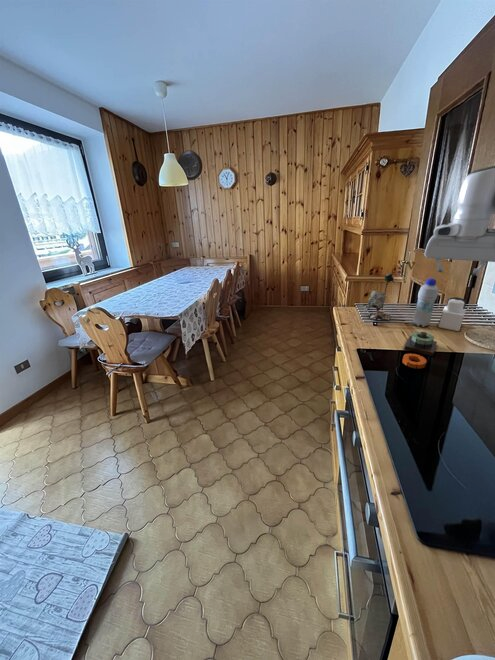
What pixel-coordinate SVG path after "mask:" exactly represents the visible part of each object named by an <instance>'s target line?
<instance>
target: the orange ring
mask: <svg viewBox="0 0 495 660" xmlns="http://www.w3.org/2000/svg"><path fill="white" fill-rule="evenodd" d="M401 362H402V364H403V365H405V367H408V368H412V369H417V370H418V369H419V370H420V369H424V368H425V367H426V365H427V362H428V361H427V359H426V358H425V357H424V356H423V355H421V354H418V353H417V354H416V353H405V354H404V355H403V357H402V360H401Z"/></svg>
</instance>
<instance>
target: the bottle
mask: <svg viewBox="0 0 495 660" xmlns="http://www.w3.org/2000/svg"><path fill="white" fill-rule="evenodd" d="M436 284H437V279H436V278H427V279H426V280H425V284H422V285H421V286H420V288H419V290H418V294H417V302H416V306H415V311H414V313H413V317H412V323H413V325H415V326H417V327H420V326H421V327H422V328H424V327H428V326H429V325H430V323H431V320H432V314H433V310H434V306H435V302H436V300H437V299H438V298H437V297H438V296H439V287H438V286H437V285H436Z"/></svg>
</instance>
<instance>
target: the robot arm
mask: <svg viewBox="0 0 495 660" xmlns="http://www.w3.org/2000/svg"><path fill="white" fill-rule="evenodd" d="M456 207H457V208H456V211H455V213H454V216H453V218H452V222H448V223H445V224H439V225H437V226H436V227H435V228H434V229H433V234H432V236H431V237H430V238H429V240H428V241H427V244H426V247H425V250H424V253H423V255H424V257H425V258H426V259H435V264H436V267H437V270H436V273H443V271H444V267H445V266H444V265H441V261H442V260H455V261H472V262H480V263H479V266H478V267H477V268H473V271H472V276H479V274H480V272H481V270H482V269H483V268H484V267H486V266H487V263H488V262H489V263H495V228H488V227H489V223H490V221H491V217H492V215H495V165H492V166H487V167H483V168H479V169H476V170H473V171H471V172H470V173H469V174H467V175H466V176H465V178H464V180H463V182H462V184H461V188H460V190H459V193H458V198H457V202H456Z"/></svg>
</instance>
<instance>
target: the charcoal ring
mask: <svg viewBox="0 0 495 660" xmlns="http://www.w3.org/2000/svg"><path fill="white" fill-rule="evenodd" d="M410 343H411V344H412V345H413V346H416V347H418V348H422V349H423V348H424V349H427V348H431V347H432V344H433V343H432V344H428V345H425V344H424V345H423V344H419V343H417V342H414V341H413V340H412V339H411V341H410Z"/></svg>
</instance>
